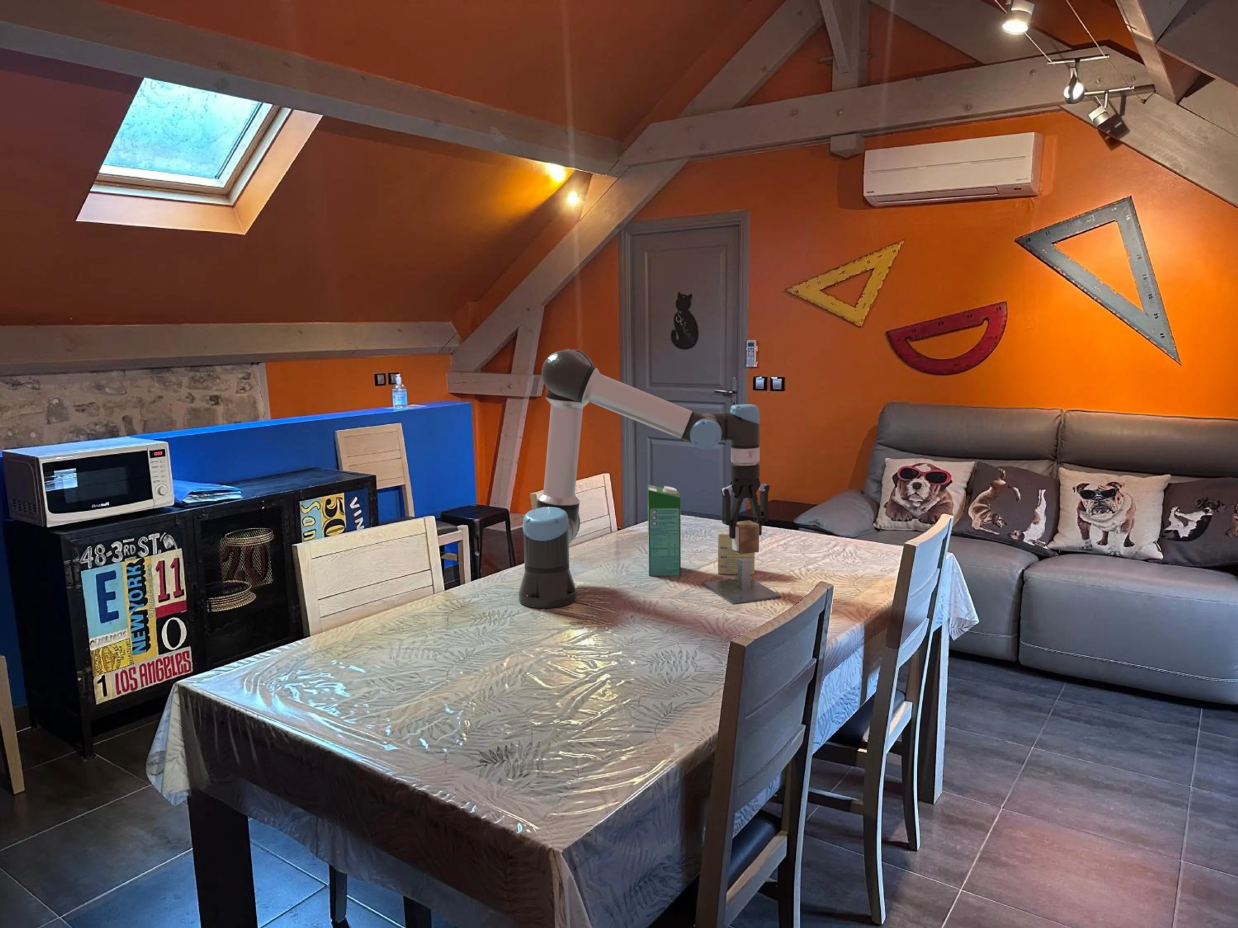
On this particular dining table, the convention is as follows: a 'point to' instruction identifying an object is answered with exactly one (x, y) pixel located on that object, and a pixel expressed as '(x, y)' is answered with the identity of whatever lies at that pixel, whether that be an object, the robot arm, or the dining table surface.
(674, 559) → the milk carton
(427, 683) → the dining table surface
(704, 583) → the grey plate
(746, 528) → the brown rectangular block
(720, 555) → the box
